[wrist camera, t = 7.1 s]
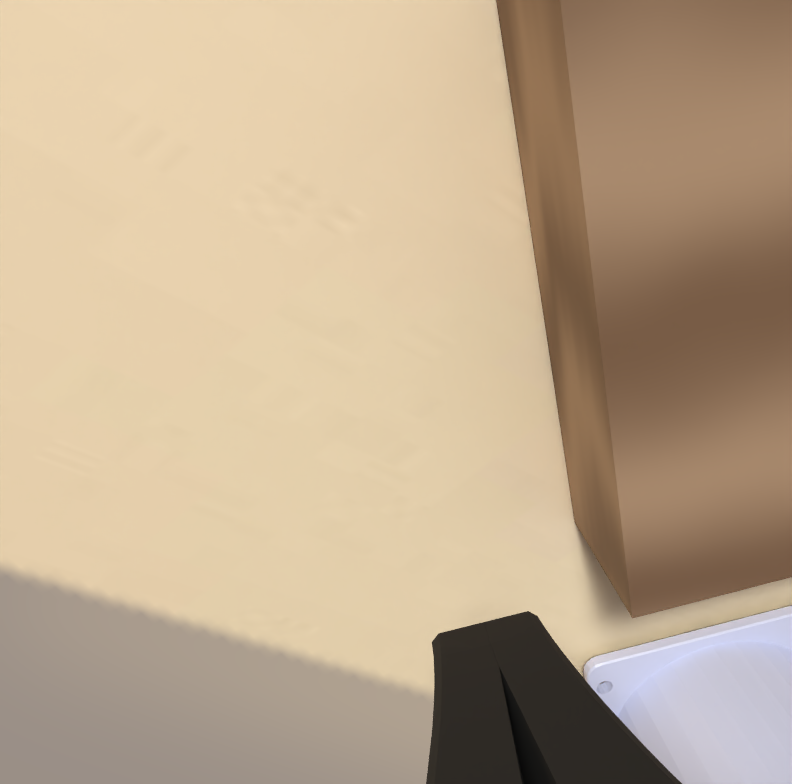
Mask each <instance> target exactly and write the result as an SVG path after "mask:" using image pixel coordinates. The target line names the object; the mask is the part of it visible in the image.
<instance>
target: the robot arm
mask: <svg viewBox="0 0 792 784" xmlns="http://www.w3.org/2000/svg"><path fill="white" fill-rule="evenodd" d="M432 647H433V654H434V673H435V689H434V711H433V728H432V737H431V746H430V755H429V765H428V773H427V782H426V784H792V605H791V606H788V607H784V608H780V609H776V610H772V611H768V612H764V613H761V614H757V615H753V616H749V617H745V618H741V619H737V620H734V621H730V622H726V623H722V624H718V625H714V626H710V627H707V628H703V629H699V630H695V631H691V632H687V633H684V634H680V635H676V636H672V637H668V638H664V639H660V640H657V641H653V642H649V643H645V644H641V645H637V646H633V647H630V648H626V649H622V650H618V651H614V652H610V653H606V654H603V655H599V656H596V657H593V658H591V659H590V660H589V661H588V662H587V663H586V664H585V666H584V671H583V672H584V678H585V679H584V678H583V677H582V676H581V674H580V673H579V672H578V671H577V670H576V668H575V667H574V666H573V665H572V663H571V662H570V661H569V660H568V658H567V657H566V656H565V655H564V653H563V652H562V651H561V649H560V648H559V647H558V645H557V644H556V643H555V641H554V640H553V639H552V637H551V636H550V634H549V633H548V632H547V630H546V629H545V627H544V626H543V624H542V623H541V621H540V620H539V618H538V616H536V615H534V614H532V613H531V612H529V611H527V612H523V613H519V614H515V615H511V616H507V617H503V618H499V619H495V620H491V621H487V622H483V623H479V624H475V625H471V626H467V627H463V628H459V629H455V630H451V631H447V632H443V633H439V634H438V635H437V636H436V638H435V639H434V640H433V642H432ZM604 681H605V682H604ZM601 682H604V683H602V684H600V683H601Z"/></svg>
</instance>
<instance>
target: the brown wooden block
mask: <svg viewBox="0 0 792 784" xmlns="http://www.w3.org/2000/svg"><path fill="white" fill-rule="evenodd" d="M497 7H498V13H499V20H500V27H501V33H502V40H503V47H504V53H505V60H506V67H507V73H508V80H509V87H510V93H511V100H512V107H513V113H514V120H515V127H516V133H517V140H518V147H519V153H520V160H521V166H522V173H523V180H524V186H525V193H526V200H527V206H528V213H529V220H530V226H531V233H532V240H533V246H534V253H535V260H536V266H537V273H538V280H539V286H540V293H541V300H542V306H543V313H544V320H545V326H546V333H547V340H548V346H549V353H550V360H551V366H552V373H553V379H554V386H555V393H556V399H557V406H558V413H559V419H560V426H561V433H562V439H563V446H564V453H565V459H566V466H567V473H568V479H569V486H570V493H571V499H572V506H573V513H574V519H575V523H576V525H577V526H578V528H579V530H580V531H581V533H582V535H583V536H584V538H585V540H586V541H587V543H588V545H589V546H590V548H591V550H592V551H593V553H594V555H595V556H596V558H597V560H598V562H599V563H600V565H601V567H602V568H603V570H604V572H605V573H606V575H607V577H608V578H609V580H610V582H611V583H612V585H613V587H614V588H615V590H616V592H617V593H618V595H619V597H620V598H621V600H622V602H623V603H624V605H625V607H626V608H627V610H628V612H629V613H630V615H631V617H632V618H635V617H639V616H643V615H647V614H651V613H655V612H658V611H662V610H666V609H670V608H674V607H678V606H682V605H685V604H689V603H693V602H697V601H701V600H705V599H709V598H712V597H716V596H720V595H724V594H728V593H732V592H736V591H739V590H743V589H747V588H751V587H755V586H759V585H763V584H766V583H770V582H774V581H778V580H782V579H786V578H790V577H792V0H497Z"/></svg>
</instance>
